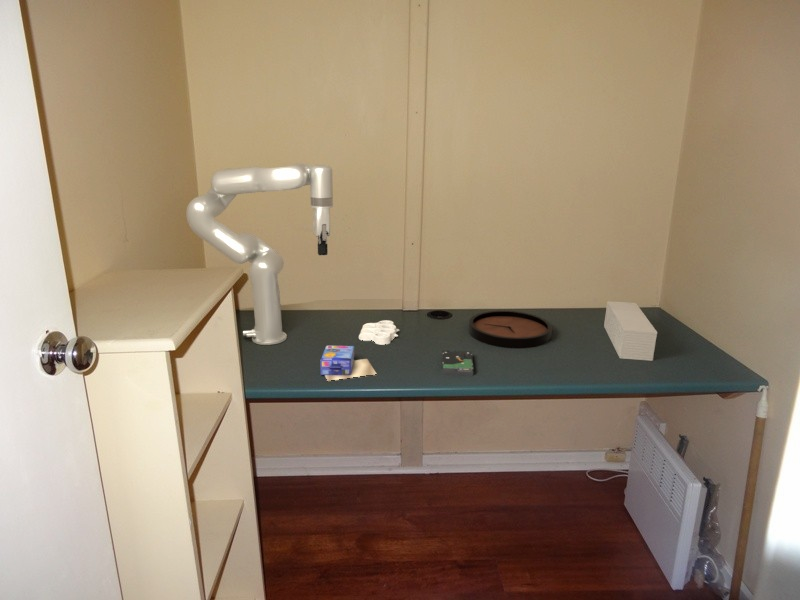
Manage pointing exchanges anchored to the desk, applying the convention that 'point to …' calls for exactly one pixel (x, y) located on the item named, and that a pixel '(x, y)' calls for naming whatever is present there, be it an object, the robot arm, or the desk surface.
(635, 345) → the stack of papers
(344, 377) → the board
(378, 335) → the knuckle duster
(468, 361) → the disk drive
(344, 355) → the ink cartridge box
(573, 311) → the desk surface
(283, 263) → the robot arm
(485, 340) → the wall clock
